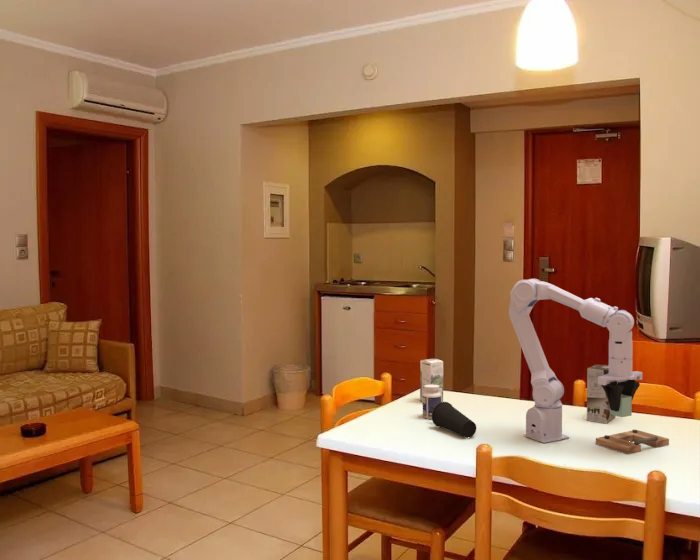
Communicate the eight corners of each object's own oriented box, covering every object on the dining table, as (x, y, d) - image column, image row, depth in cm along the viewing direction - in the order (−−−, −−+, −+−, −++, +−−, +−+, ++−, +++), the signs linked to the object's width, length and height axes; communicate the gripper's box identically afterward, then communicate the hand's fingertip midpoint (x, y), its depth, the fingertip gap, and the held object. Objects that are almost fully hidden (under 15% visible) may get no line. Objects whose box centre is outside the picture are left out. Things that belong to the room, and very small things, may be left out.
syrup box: (432, 399, 226) (432, 358, 226) (443, 402, 221) (443, 360, 221) (419, 401, 223) (419, 359, 223) (430, 404, 218) (430, 362, 218)
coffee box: (608, 424, 192) (608, 369, 191) (586, 420, 195) (586, 367, 195) (616, 417, 199) (616, 365, 198) (595, 414, 203) (595, 363, 202)
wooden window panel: (627, 454, 163) (627, 444, 163) (595, 444, 172) (595, 434, 172) (668, 444, 171) (669, 434, 170) (636, 435, 179) (636, 426, 179)
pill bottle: (444, 416, 202) (444, 384, 202) (436, 420, 198) (436, 388, 197) (427, 414, 206) (427, 383, 205) (419, 418, 201) (419, 386, 200)
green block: (621, 417, 166) (622, 398, 166) (610, 414, 169) (610, 395, 169) (631, 415, 167) (631, 396, 167) (619, 412, 171) (620, 393, 170)
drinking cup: (459, 447, 178) (423, 423, 196) (482, 437, 181) (444, 414, 199) (455, 422, 176) (418, 400, 194) (478, 412, 179) (439, 392, 197)
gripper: (613, 362, 161) (613, 416, 161) (652, 357, 168) (652, 409, 168) (591, 358, 167) (591, 410, 168) (629, 353, 174) (629, 403, 174)
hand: (620, 409), depth 168 cm, fingers closed on green block, 4 cm apart
